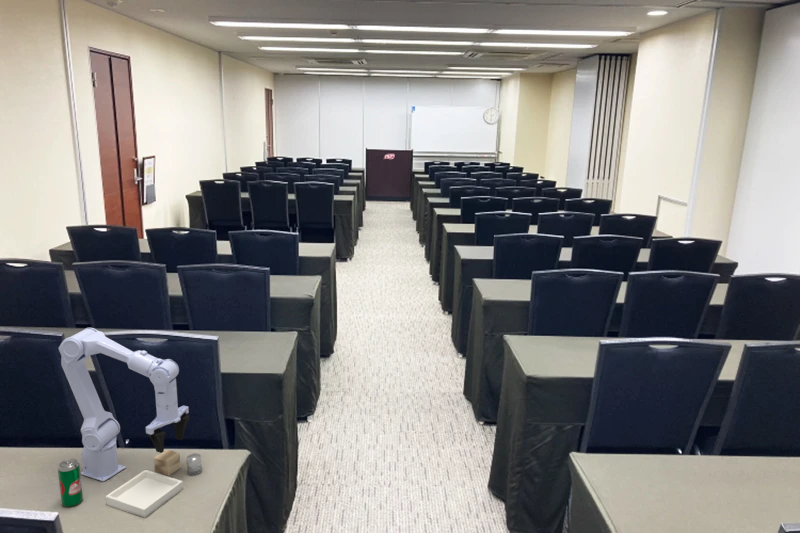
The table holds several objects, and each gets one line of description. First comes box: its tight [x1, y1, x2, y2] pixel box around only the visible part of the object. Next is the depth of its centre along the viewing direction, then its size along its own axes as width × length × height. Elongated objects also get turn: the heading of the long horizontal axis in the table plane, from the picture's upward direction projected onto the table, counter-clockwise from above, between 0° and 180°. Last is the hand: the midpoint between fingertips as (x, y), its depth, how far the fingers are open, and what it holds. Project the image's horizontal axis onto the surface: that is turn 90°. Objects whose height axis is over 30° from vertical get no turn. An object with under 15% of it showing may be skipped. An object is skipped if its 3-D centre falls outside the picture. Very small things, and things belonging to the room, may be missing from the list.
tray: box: [104, 469, 184, 519], centre depth 157 cm, size 14×14×2 cm
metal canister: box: [186, 453, 202, 477], centre depth 169 cm, size 4×4×5 cm
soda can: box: [57, 458, 84, 508], centre depth 152 cm, size 5×5×12 cm
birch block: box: [153, 449, 181, 477], centre depth 169 cm, size 5×5×5 cm
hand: (169, 445), depth 164 cm, fingers open, 7 cm apart
